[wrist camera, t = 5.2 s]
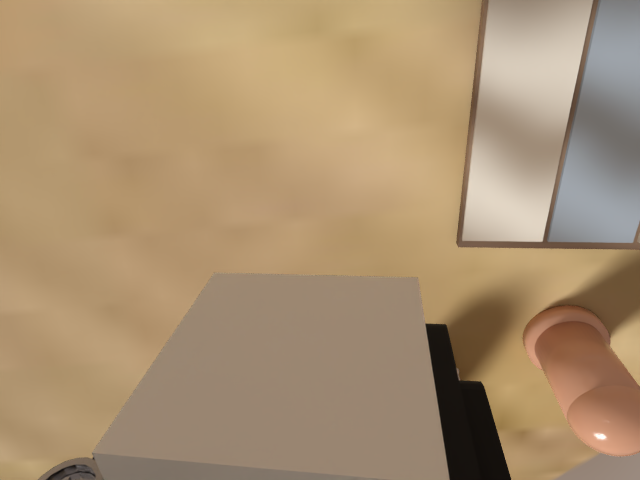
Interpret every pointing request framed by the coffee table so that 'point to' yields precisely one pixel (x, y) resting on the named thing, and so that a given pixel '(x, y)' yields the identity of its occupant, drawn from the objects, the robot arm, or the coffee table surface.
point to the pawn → (586, 378)
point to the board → (554, 127)
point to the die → (286, 386)
